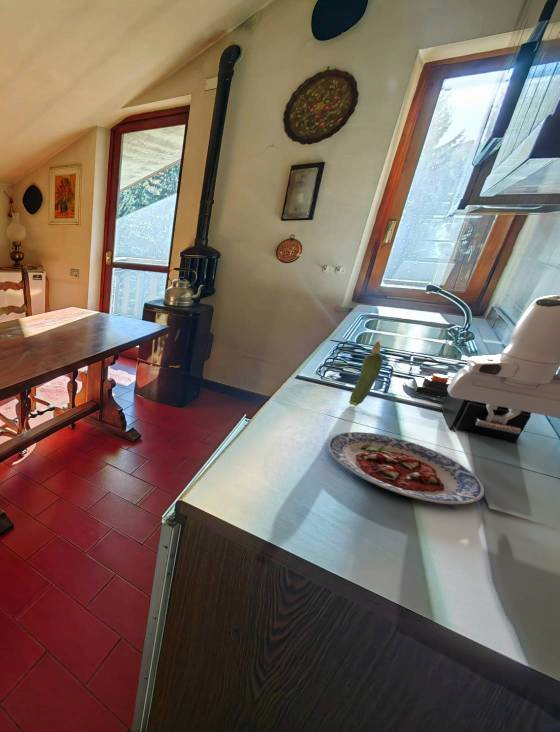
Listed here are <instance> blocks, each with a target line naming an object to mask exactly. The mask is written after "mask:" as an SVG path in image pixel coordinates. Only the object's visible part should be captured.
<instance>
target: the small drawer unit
mask: <svg viewBox="0 0 560 732" xmlns="http://www.w3.org/2000/svg"><path fill="white" fill-rule="evenodd" d="M508 409H509V408H505V407H500V406H498V408H497V409H496V410H493V412H494V414H496V415H501V416H503V415H504V414H506V413H508V412H510V411H509V410H508ZM488 414H489V413H488V410H487V407H486V404H484V403H479V402H474V401H469V400H468V402H467V404H466V406H465V408H464V410H463V412H462V414H461V417H460V419H459V421H458V423H457V425H456V427H455V431H458V432H464V433H467V434H471V435H472V434H473V435H478V436H482V437H486V438H491V439H495V440H499V441H503V442H508V443H511V444H513V443H514V444H516V442H517V441H518V439H519V437H520V436H521V434H522V432H523V431H524V429H525V427H526V425H527V424H528V422H529V421H530V419H531V417H532V416H531V415H532V414H531V415H530V414H526V413H522V411H521V412H520V414H519V415H517V416H515V417H513V418H511V419H508V421H507V423H506V425H503V424H498V423H493V422H488V421H486V418H487V416H488Z"/></svg>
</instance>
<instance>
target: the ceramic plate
mask: <svg viewBox="0 0 560 732" xmlns="http://www.w3.org/2000/svg"><path fill="white" fill-rule="evenodd" d="M328 450H329V452H330V454H331V456H333V458H334V459H335V460H336V461H337V462H338V463H339V464H340V465H342V466H343V467H344V468H346V469H347V470H349V472H350V471H351V473H353V474H354V475H356V476H358V477H359V478H362V479H363V480H366V481H367V482H369V483H372V484H374V485H375V486H378V487H380V488H382V489H385V490H387V491H391V492H394V493H396V494H399V495H402V496H406V497H409V498H413V499H416V500H420V501H426V502H430V503H436V504H443V505H444V504H445V505H466V504H471V503H475V502H478V501H479V500H480V499H482V498H483V496H484V495H485V488H484V487H485V486H484V485H483V483H482V482H481V480H480V479H479V477H477V475H475V474H474V473H473V472H472V471H471V470H469V469H468V468H466V466H464V465H462V464H461V463H459V462H458V461H456V460H454V459H452V458H450V457H449V456H447V455H444V454H443V453H441V452H438V451H436V450H433V449H431V448H429V447H427V446H424V445H421V444H418V443H415V442H412V441H409V440H406V439H402V438H399V437H395V436H390V435H385V434H381V433H375V432H363V431H348V432H342V433H338V434H336V435H333V436H332V437H331V438H330V439H329V441H328Z"/></svg>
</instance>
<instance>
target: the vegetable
mask: <svg viewBox="0 0 560 732" xmlns="http://www.w3.org/2000/svg"><path fill="white" fill-rule="evenodd" d="M380 353H381V343H380V341H378V340H377V341H376V342H375V343H374V345H373V346H372V349H371V353H369V354H367V355H365V357H364V359H363V360H362V362H361V363H362V364H361V369H360V375H359V377H358V381H357V382H356V384H355V386H354V387H353V390H352V392H351V395H350V398H349V401H348V403H349V405H351V406H354V407H358V406H359V405H360V404H361V403H363V402H364V400H365V399H366V398H367V397H368V395H369V394H370V391H371V389H372V387H373V386H374V384H375V382H376V380H377V378H378V376H379V374H380V372H381V369H382V366H383V361H384V360H383V357H382V355H380Z"/></svg>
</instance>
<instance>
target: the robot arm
mask: <svg viewBox="0 0 560 732" xmlns="http://www.w3.org/2000/svg"><path fill="white" fill-rule="evenodd" d="M559 369H560V295H546V296H542V297H539V298H536V299H534V300H533V301H532V302H531V303H530V304H529V305H528V307H526V309H525V310H524V311H523V313H522V314H521V316H520V317H519V319H518V321H517V323H516V324H515V326H514V328H513V330H512V332H511V336H510V341H509V343H508V345H506V347H505V348H503V350H502V351H501V353H500V354H496V355H480V356H479V355H478V356H477V355H475V356H470V357H469V358H468V359H467V361H466V366H464V367H461V368H460V369H458V371H457V372H456V373H455V374H454V376H453V377H452V378H451V380H450V381H451V382H450V384H449V386H448V388H447V391H448V393H449V394H450V396H451V397H454V398H459V399H464V400H469V401H475V402H480V403H485V404H486V407H487V410H488V413H489V414H488V416H487V418H486V421H488V422H493V423H498V424H503V425H506V423H507V421H508V419H511V418H513V417H515V416H517V415H519V414H520V412H521V411H525V412H531V414H536V415H541V416H546V417H550V418H555V419H556V418H557V419H560V374H558V370H559ZM498 406H500V407H505V408H509V409H508V410H509V411H510V412H508V413H506V414H504V415H503V416H501V415H496V414H494V412H493V410H496V409H497V408H498Z"/></svg>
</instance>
